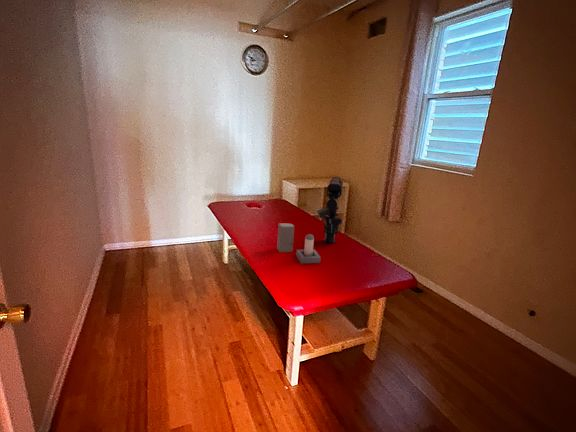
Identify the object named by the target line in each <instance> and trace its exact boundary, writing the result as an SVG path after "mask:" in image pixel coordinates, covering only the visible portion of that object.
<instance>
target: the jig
mask: <svg viewBox="0 0 576 432" xmlns="http://www.w3.org/2000/svg"><path fill="white" fill-rule="evenodd" d="M295 256H296V257H297V259H298V262H300V264H321V258H322V257H321V256H320V254H319V253H318V251H316V249H314V248H313V255H312V256H304V249H296V253H295Z"/></svg>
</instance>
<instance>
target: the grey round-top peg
mask: <svg viewBox="0 0 576 432" xmlns="http://www.w3.org/2000/svg"><path fill="white" fill-rule="evenodd" d="M314 241H315V237H314V235H313V234H311V233H310V234H309V233H308V234H306V235H305V238H304V249H303V250H304V256H312V255H313V249H314V243H315V242H314Z"/></svg>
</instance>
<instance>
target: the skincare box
mask: <svg viewBox="0 0 576 432" xmlns="http://www.w3.org/2000/svg"><path fill="white" fill-rule="evenodd" d="M277 229H278V231H277V241H276V243H277V244H276V249H277V250H278V252H279V253H288V252H289V253H290V252H293V249H294V248H293V247H294V238H295V236H294V235H295V225H294V224H292V223H288V222H287V223H278V228H277Z"/></svg>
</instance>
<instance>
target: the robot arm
mask: <svg viewBox="0 0 576 432" xmlns="http://www.w3.org/2000/svg"><path fill="white" fill-rule="evenodd" d="M328 183H329V184H328V185H327V188H326V189H327V190H326V197H328V198H327V201H326V205H325V207H324V208H321V209H318V210H316V213H317V217H319V218H320V219H323V218H324V221H325V223H324V227H323V233H324V234H325V238H323V241H324V242H325V243H326V244H336V240H335V236H336V235H337V234H339V225H341V224H342V221H343V220H342V218H341V217H339V216H338V215H339V214H338V213H337V212H338V210H339V207H338V203H339V198H341V196H342V192H343V191H342V190H343V185H344V184H343V181H342V179H341V177H336V176H332V178H331V180H329V182H328Z"/></svg>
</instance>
